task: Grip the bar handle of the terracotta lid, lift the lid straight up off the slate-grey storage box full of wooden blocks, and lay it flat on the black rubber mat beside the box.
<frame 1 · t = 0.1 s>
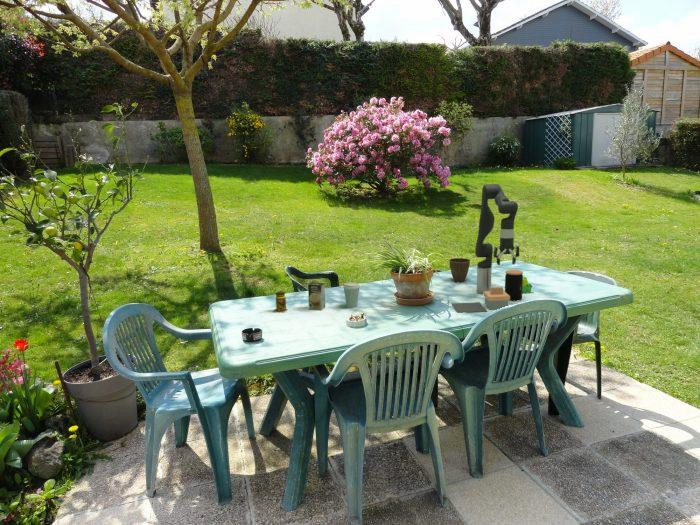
hand: (506, 264, 288), 29 cm above the table, tool pointing down, fingers open, 8 cm apart
coffee box: (317, 308, 314), on the table
plant pot: (459, 281, 367), on the table
lid: (496, 297, 305), point 5 cm above the table, touching storage box
storage box: (496, 306, 306), on the table
coffee jar: (513, 299, 320), on the table
disposable coffee cup: (352, 306, 316), on the table
rubber mat: (468, 307, 305), on the table
condiment: (280, 310, 313), on the table
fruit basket: (522, 292, 335), on the table
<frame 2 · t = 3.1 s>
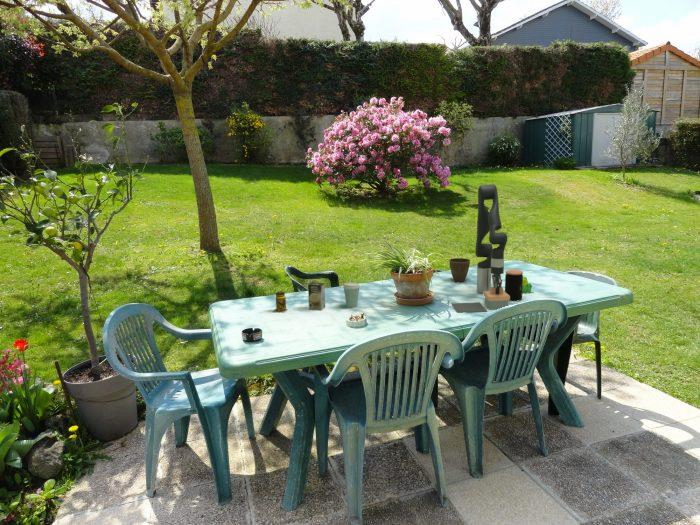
hand: (496, 293, 304), 8 cm above the table, tool pointing down, fingers closed on lid, 3 cm apart
lid: (496, 297, 305), point 6 cm above the table, touching gripper, storage box
everything else where it was.
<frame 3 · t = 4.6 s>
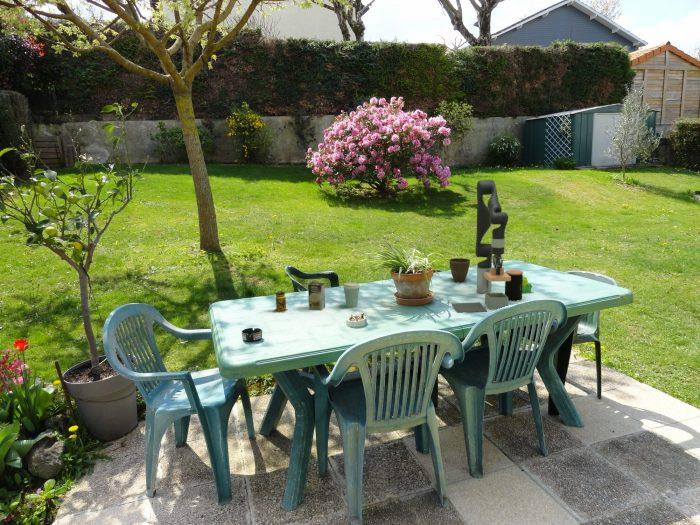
hand: (497, 273, 302), 20 cm above the table, tool pointing down, fingers closed on lid, 3 cm apart
lid: (496, 278, 303), point 17 cm above the table, touching gripper
everything else where it was.
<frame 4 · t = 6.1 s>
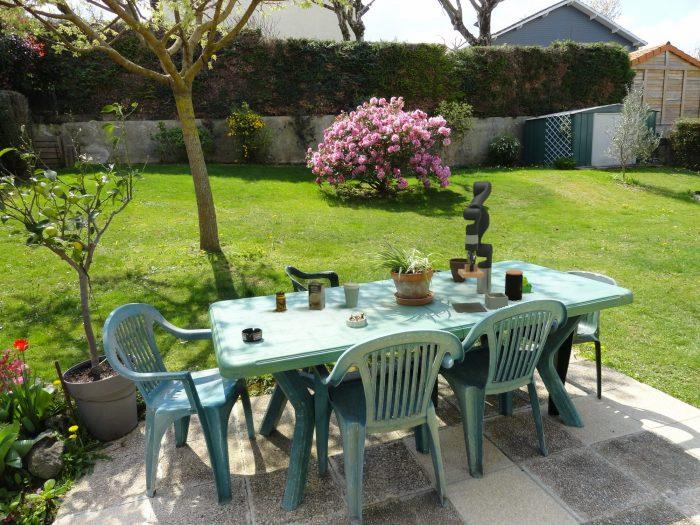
hand: (470, 270, 300), 23 cm above the table, tool pointing down, fingers closed on lid, 3 cm apart
lid: (470, 275, 301), point 20 cm above the table, touching gripper
everything else where it was.
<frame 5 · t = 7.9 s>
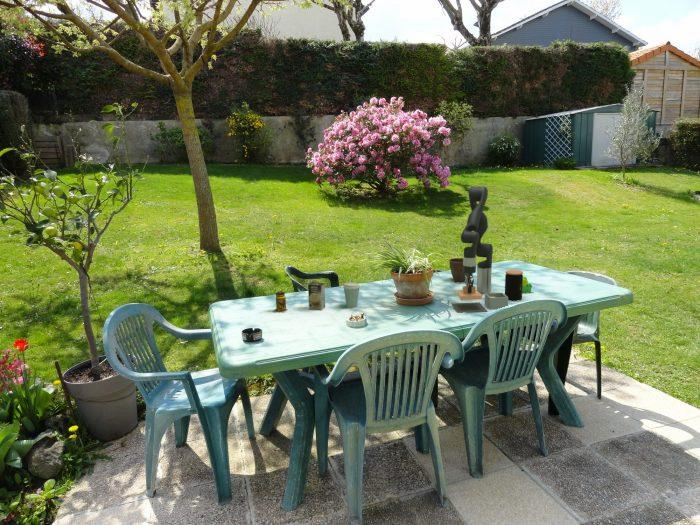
hand: (468, 292, 303), 10 cm above the table, tool pointing down, fingers closed on lid, 3 cm apart
lid: (468, 296, 304), point 7 cm above the table, touching gripper
everything else where it was.
when the fingers open (5 cm above the table, at t = 9.2 s): lid drops 1 cm, resting on rubber mat.
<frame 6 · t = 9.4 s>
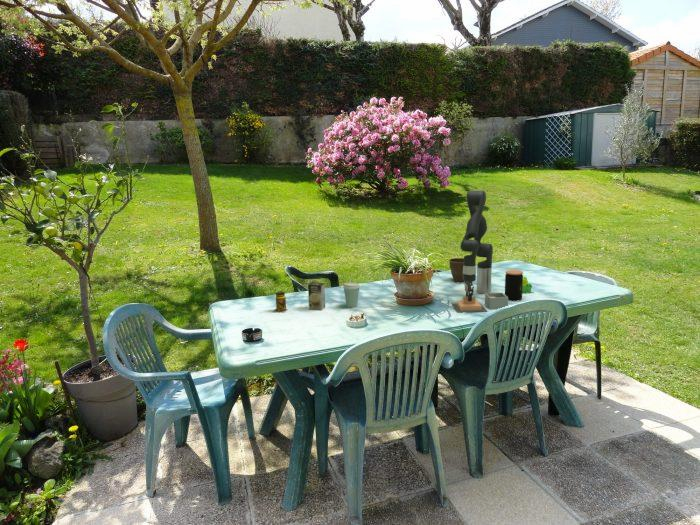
hand: (468, 299, 304), 5 cm above the table, tool pointing down, fingers open, 5 cm apart
lid: (468, 307, 305), resting on rubber mat
everything else where it was.
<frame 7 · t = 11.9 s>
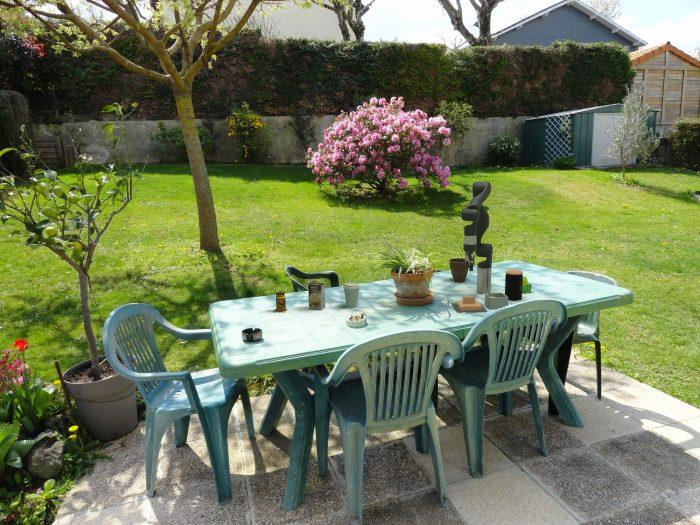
hand: (469, 269, 300), 24 cm above the table, tool pointing down, fingers open, 8 cm apart
nothing on the table moved.
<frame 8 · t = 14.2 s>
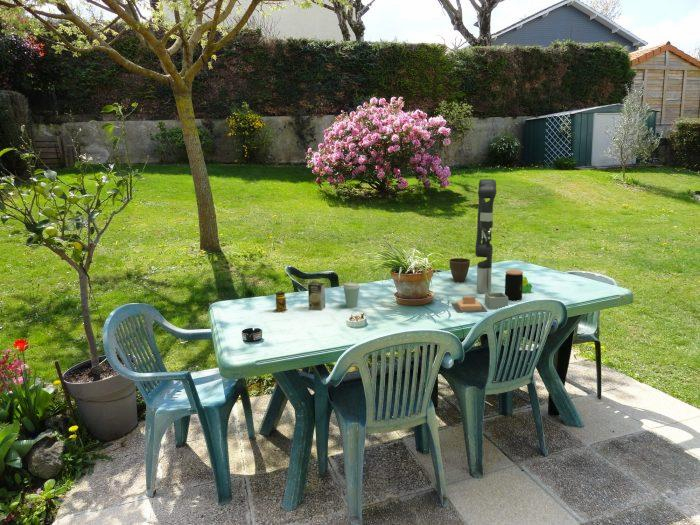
hand: (485, 246, 306), 36 cm above the table, tool pointing down, fingers open, 8 cm apart
nothing on the table moved.
at the end: lid inside the target area on the rubber mat (0.0 cm from its centre), point 0.4 cm above the rubber mat's base; lid tilted 0°; lid touching rubber mat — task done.
